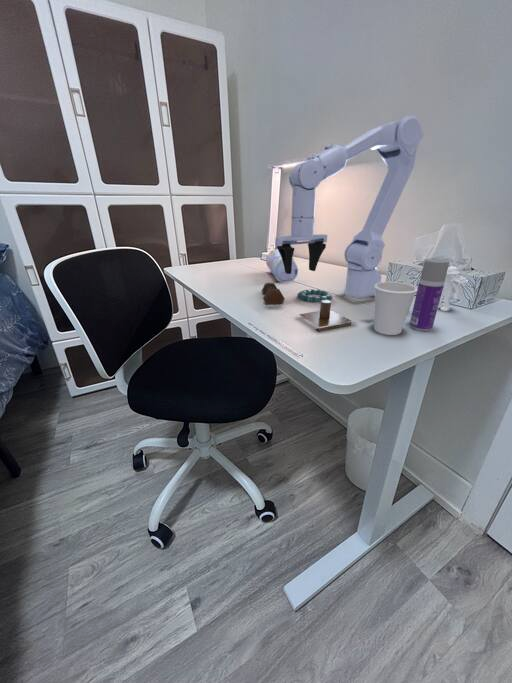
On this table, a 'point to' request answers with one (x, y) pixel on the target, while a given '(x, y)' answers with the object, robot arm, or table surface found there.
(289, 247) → the robot arm
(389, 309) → the dixie cup
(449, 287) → the hat wearing toy figure
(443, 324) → the table surface
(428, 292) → the container
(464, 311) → the table surface
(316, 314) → the post
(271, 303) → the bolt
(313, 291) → the ring
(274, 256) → the pencil case
